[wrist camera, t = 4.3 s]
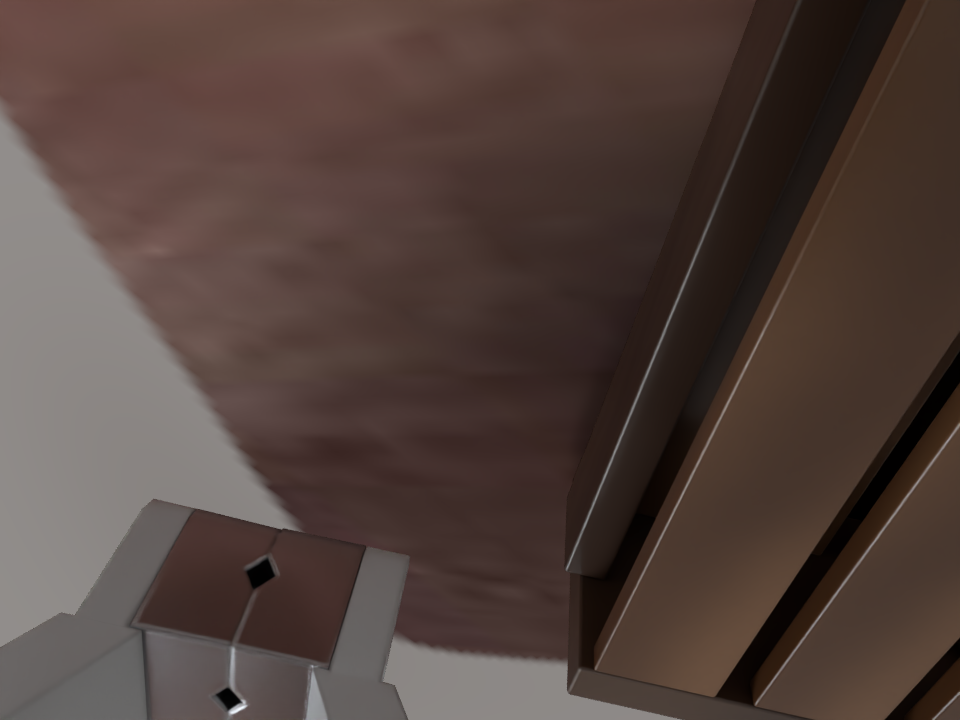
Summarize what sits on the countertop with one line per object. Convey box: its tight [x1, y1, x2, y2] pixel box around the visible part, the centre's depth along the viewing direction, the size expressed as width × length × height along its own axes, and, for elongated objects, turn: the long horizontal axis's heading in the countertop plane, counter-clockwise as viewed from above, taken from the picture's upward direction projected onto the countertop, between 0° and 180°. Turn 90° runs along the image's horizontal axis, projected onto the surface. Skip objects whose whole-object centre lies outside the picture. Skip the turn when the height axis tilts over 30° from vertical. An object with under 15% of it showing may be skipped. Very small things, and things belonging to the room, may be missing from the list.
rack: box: [564, 0, 960, 720], centre depth 16 cm, size 10×16×7 cm, turn 168°
